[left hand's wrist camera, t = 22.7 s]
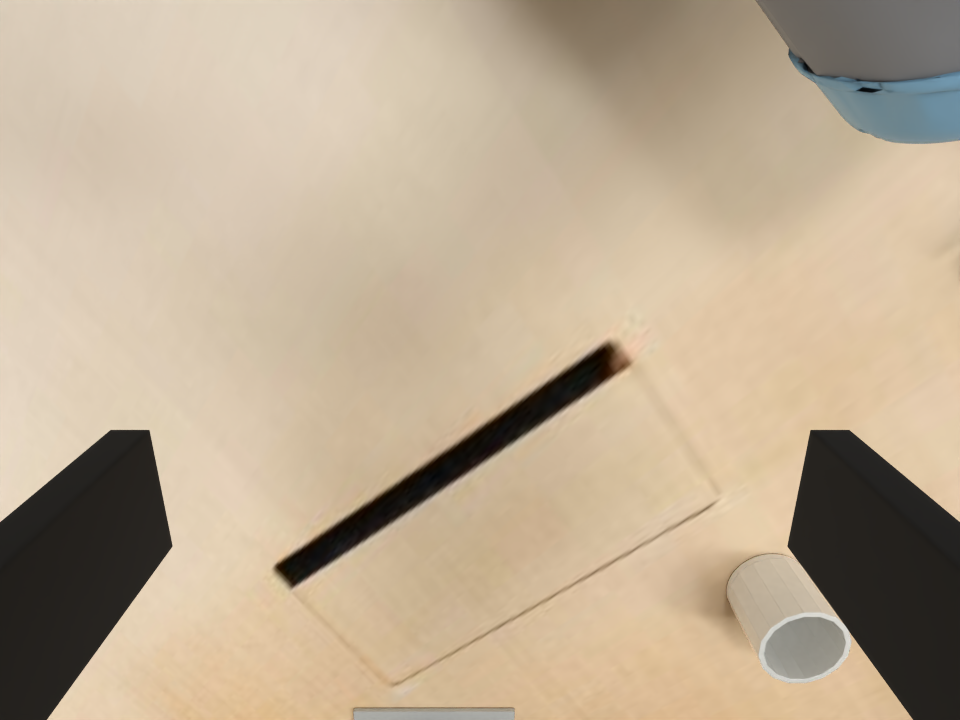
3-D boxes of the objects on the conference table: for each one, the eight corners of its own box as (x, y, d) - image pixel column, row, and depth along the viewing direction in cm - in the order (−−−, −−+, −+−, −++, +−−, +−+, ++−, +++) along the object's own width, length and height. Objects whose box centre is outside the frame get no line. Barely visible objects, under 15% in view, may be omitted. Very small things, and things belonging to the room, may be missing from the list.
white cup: (732, 553, 50) (766, 612, 44) (813, 553, 50) (859, 612, 44) (721, 618, 53) (752, 683, 47) (799, 618, 53) (841, 683, 47)
